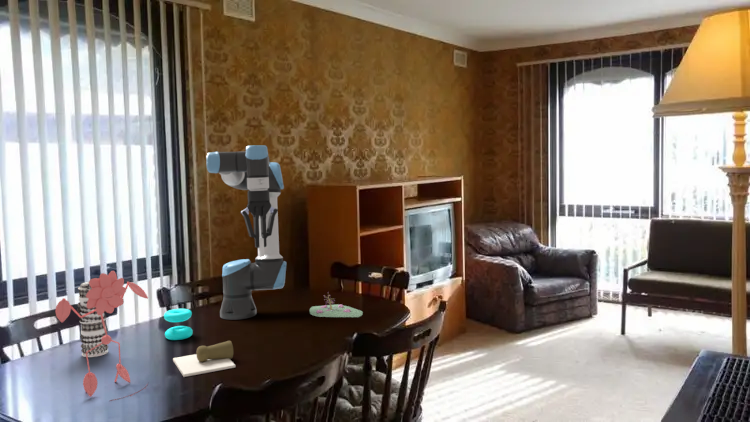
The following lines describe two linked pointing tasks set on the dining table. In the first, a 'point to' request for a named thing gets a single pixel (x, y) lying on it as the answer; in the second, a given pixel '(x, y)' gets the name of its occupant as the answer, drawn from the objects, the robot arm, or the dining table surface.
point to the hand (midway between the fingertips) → (261, 256)
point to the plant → (334, 310)
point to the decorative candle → (90, 326)
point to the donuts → (178, 331)
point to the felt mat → (201, 365)
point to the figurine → (104, 298)
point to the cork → (215, 351)
